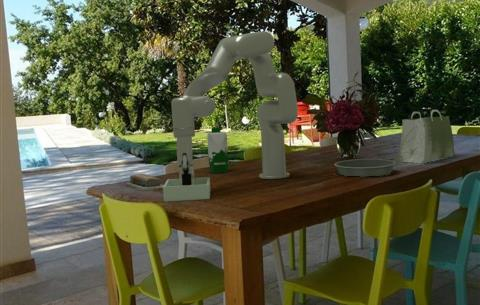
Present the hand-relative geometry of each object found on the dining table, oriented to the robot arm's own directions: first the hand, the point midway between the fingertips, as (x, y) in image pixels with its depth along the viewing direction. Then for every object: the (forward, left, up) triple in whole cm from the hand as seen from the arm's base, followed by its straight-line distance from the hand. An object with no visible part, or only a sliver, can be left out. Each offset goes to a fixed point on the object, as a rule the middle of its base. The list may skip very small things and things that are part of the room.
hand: (187, 183), depth 189 cm
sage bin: (0, 0, -5) cm, 5 cm away
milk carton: (-52, +11, -5) cm, 53 cm away
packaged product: (-25, -19, -5) cm, 31 cm away
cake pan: (-27, +71, -5) cm, 76 cm away
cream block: (0, 0, -2) cm, 2 cm away
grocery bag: (-55, +107, -5) cm, 121 cm away
